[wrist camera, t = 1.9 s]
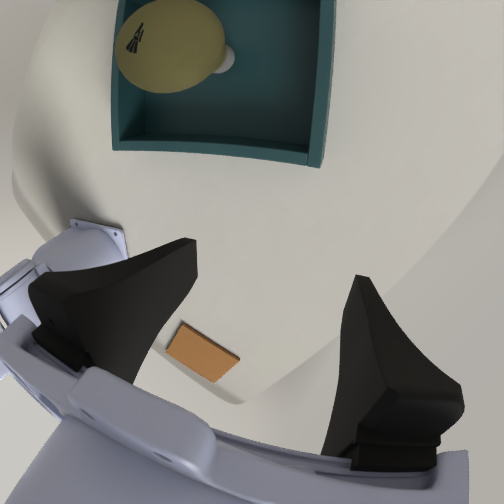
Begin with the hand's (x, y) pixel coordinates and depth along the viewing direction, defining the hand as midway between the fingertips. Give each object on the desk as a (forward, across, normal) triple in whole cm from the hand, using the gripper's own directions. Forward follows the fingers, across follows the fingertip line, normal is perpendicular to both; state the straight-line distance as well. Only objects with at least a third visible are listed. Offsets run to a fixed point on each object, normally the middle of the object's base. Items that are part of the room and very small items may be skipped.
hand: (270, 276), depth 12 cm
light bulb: (+10, +7, -10) cm, 16 cm away
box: (+10, +7, -10) cm, 16 cm away
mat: (+10, +9, +22) cm, 26 cm away
